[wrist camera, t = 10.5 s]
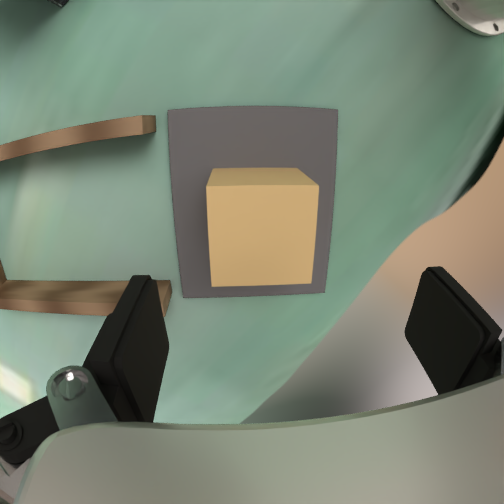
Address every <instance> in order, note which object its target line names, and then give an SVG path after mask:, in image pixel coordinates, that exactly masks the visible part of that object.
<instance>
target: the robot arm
mask: <svg viewBox="0 0 504 504" xmlns="http://www.w3.org/2000/svg"><path fill="white" fill-rule="evenodd" d="M436 2H437V3H438V4H439V5H440V6H441V7H442V8H443V9H444V10H445V11H446V12H447V13H448V14H449V15H450V16H451V17H452V18H453V19H454V20H455V21H457V22H458V23H460V24H461V25H462V26H463V27H465V28H467V29H469V30H470V31H472V32H474V33H477V34H479V35H484V36H494V35H499V34H501V33H503V32H504V0H436ZM501 332H502V329H501V328H500V327H499V326H498V325H497V324H496V323H495V321H494V320H493V319H492V318H491V317H490V316H489V315H488V313H487V312H486V311H485V310H484V309H482V307H481V306H480V305H479V304H478V303H477V302H476V301H475V299H474V298H473V297H472V296H471V295H470V294H469V293H468V292H467V291H466V290H465V289H464V288H463V287H462V286H461V285H460V284H459V283H458V282H457V281H456V280H455V279H454V278H453V277H452V276H451V275H450V274H449V273H447V271H446V270H445V269H444V268H443V267H440V266H438V267H428V268H426V270H425V271H424V272H423V273H422V275H421V278H420V282H419V286H418V289H417V292H416V296H415V299H414V303H413V306H412V309H411V312H410V315H409V318H408V321H407V325H406V327H405V337H406V339H407V341H408V342H409V344H410V346H411V347H412V349H413V351H414V352H415V354H416V356H417V358H418V359H419V361H420V363H421V364H422V366H423V368H424V370H425V371H426V373H427V375H428V377H429V378H430V380H431V382H432V384H433V386H434V387H435V389H436V391H437V393H438V395H437V396H433V397H430V398H426V399H422V400H418V401H414V402H410V403H406V404H401V405H397V406H392V407H387V408H382V409H378V410H372V411H366V412H361V413H355V414H348V415H342V416H335V417H328V418H319V419H310V420H300V421H289V422H276V423H258V424H174V423H153V420H154V415H155V410H156V405H157V401H158V396H159V391H160V387H161V382H162V378H163V373H164V369H165V365H166V360H167V356H168V352H169V341H168V336H167V331H166V327H165V322H164V317H163V312H162V307H161V302H160V297H159V291H158V286H157V281H156V280H152V279H151V277H150V276H149V275H133V276H132V277H131V279H130V281H129V283H128V285H127V286H126V288H125V290H124V292H123V294H122V296H121V297H120V299H119V301H118V303H117V305H116V307H115V309H114V311H113V313H110V314H109V315H108V316H107V318H106V320H105V322H104V323H103V325H102V327H101V329H100V331H99V333H98V335H97V337H96V339H95V341H94V343H93V345H92V347H91V349H90V351H89V353H88V355H87V357H86V359H85V361H84V364H83V366H82V367H81V366H67V367H64V368H62V369H60V370H58V371H56V372H55V373H54V374H53V375H52V376H51V377H50V379H49V380H48V382H47V386H46V392H47V396H45V397H43V398H41V399H39V400H37V401H35V402H33V403H31V404H29V405H27V406H25V407H23V408H21V409H19V410H17V411H15V412H13V413H10V414H8V415H6V416H4V417H2V418H1V419H0V504H504V337H503V338H502V340H501V342H500V341H499V339H498V338H499V336H500V334H501Z"/></svg>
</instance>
